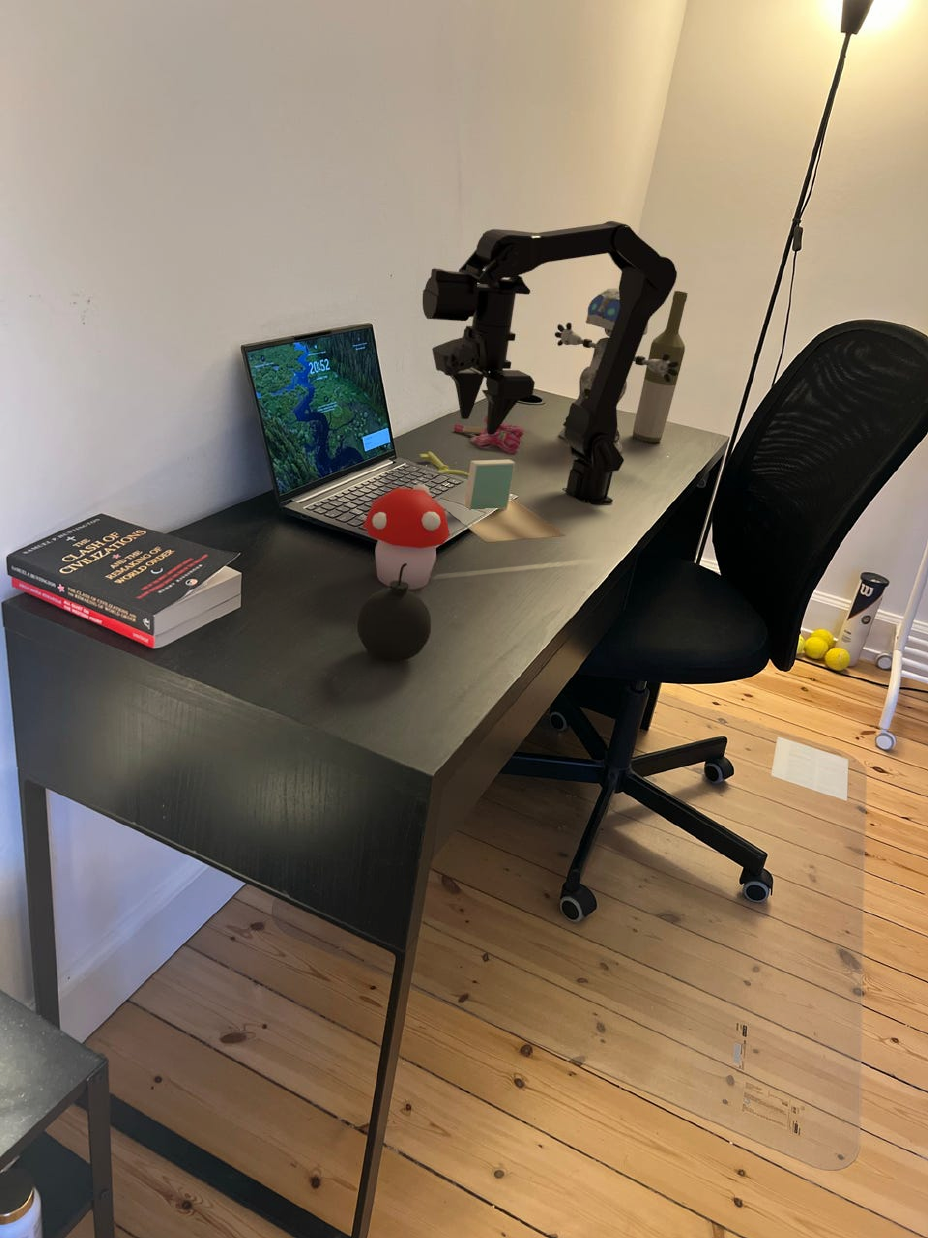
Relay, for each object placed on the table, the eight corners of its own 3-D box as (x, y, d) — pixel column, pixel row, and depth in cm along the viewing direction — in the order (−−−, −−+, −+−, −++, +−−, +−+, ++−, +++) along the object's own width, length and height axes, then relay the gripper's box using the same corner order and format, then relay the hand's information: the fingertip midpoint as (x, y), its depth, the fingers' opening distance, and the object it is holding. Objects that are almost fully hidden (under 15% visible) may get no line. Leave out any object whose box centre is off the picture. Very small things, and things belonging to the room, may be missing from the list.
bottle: (623, 434, 201) (656, 287, 188) (647, 433, 205) (681, 289, 191) (645, 445, 196) (680, 294, 183) (669, 443, 200) (706, 296, 186)
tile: (501, 504, 150) (509, 459, 146) (507, 508, 148) (515, 462, 145) (463, 507, 146) (470, 460, 143) (468, 511, 145) (476, 464, 142)
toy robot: (517, 423, 197) (543, 272, 184) (556, 418, 205) (583, 273, 191) (633, 471, 178) (671, 307, 165) (670, 465, 186) (710, 307, 172)
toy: (450, 448, 186) (519, 464, 179) (440, 435, 180) (510, 451, 174) (464, 414, 186) (532, 429, 180) (454, 400, 181) (524, 415, 175)
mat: (509, 500, 154) (509, 496, 154) (565, 538, 142) (565, 535, 142) (433, 504, 147) (434, 500, 147) (485, 545, 135) (486, 542, 135)
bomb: (349, 638, 105) (359, 539, 100) (419, 639, 108) (433, 542, 102) (358, 675, 99) (369, 571, 93) (432, 675, 101) (448, 573, 95)
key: (428, 461, 167) (430, 450, 166) (477, 485, 160) (479, 473, 159) (397, 467, 162) (399, 455, 161) (447, 491, 155) (448, 479, 154)
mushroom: (411, 605, 115) (423, 512, 110) (340, 575, 120) (348, 485, 114) (458, 580, 123) (471, 493, 118) (390, 553, 128) (400, 468, 123)
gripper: (414, 307, 142) (403, 409, 149) (477, 336, 128) (462, 447, 136) (477, 309, 148) (464, 408, 155) (544, 338, 134) (526, 444, 141)
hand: (477, 426), depth 146 cm, fingers open, 8 cm apart
